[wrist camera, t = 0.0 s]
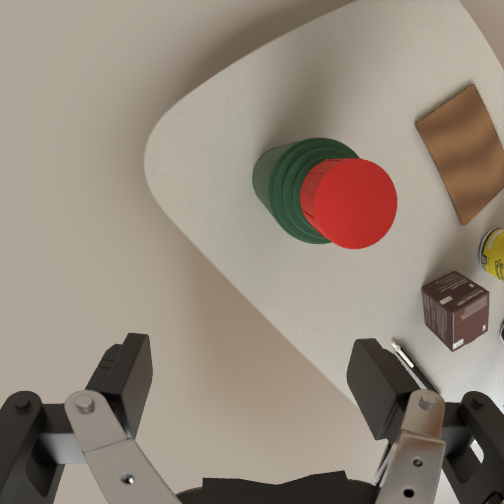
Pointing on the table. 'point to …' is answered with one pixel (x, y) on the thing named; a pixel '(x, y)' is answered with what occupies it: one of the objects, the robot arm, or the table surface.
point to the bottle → (293, 182)
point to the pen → (413, 367)
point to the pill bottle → (493, 253)
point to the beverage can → (502, 334)
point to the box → (456, 309)
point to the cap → (349, 201)
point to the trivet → (465, 151)
